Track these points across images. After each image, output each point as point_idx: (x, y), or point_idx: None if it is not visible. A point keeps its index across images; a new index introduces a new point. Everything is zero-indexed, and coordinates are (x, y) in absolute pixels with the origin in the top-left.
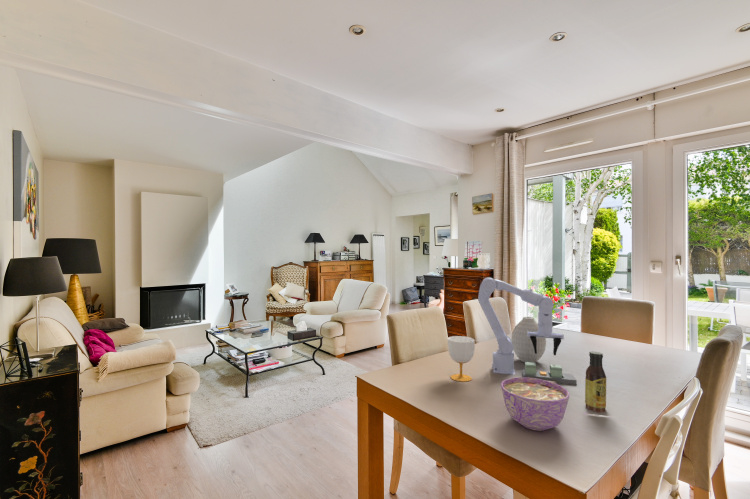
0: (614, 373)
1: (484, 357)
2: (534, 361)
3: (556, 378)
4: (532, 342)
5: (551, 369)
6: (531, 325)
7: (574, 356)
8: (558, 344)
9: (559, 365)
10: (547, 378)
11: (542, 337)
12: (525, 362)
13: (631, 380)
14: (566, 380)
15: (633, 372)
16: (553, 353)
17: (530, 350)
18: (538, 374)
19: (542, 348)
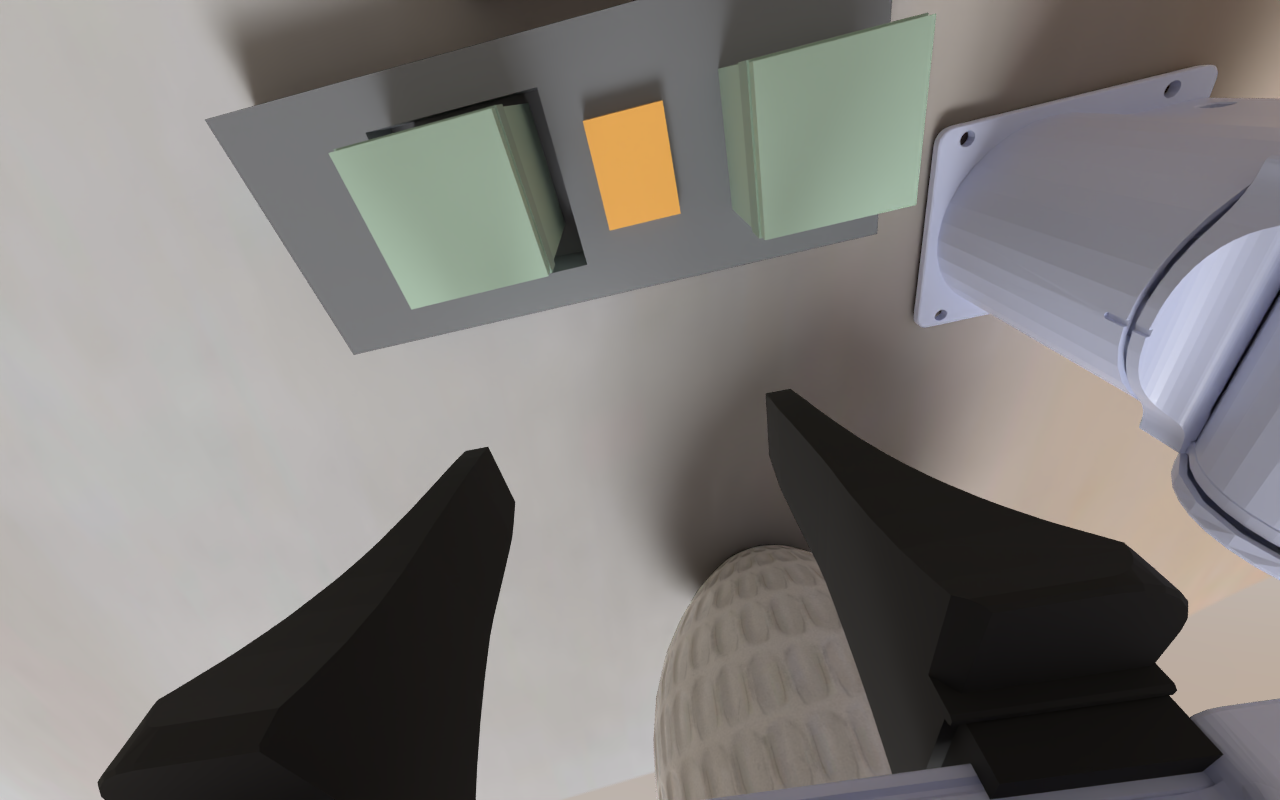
0: (201, 608)
1: (1090, 521)
2: (725, 564)
3: (446, 54)
4: (1003, 507)
5: (500, 105)
6: None
7: (507, 739)
8: (285, 630)
9: (413, 290)
10: (563, 22)
11: (737, 797)
12: (915, 173)
13: (30, 537)
14: (331, 89)
15: (130, 664)
16: (509, 504)
17: (794, 620)
18: (688, 108)
19: (681, 685)
